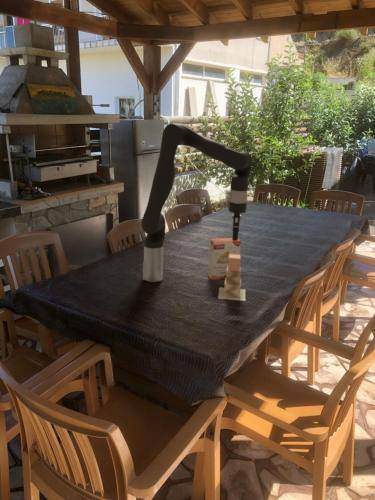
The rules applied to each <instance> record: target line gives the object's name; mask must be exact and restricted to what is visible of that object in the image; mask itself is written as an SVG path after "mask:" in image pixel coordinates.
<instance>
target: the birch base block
mask: <svg viewBox="0 0 375 500" xmlns="http://www.w3.org/2000/svg"><path fill="white" fill-rule="evenodd" d="M223 288H224V297H236V298H240V289H242V279H241V278H240V285H235V284H226V278H225V279H224V287H223Z"/></svg>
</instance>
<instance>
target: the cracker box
mask: <svg viewBox="0 0 375 500" xmlns="http://www.w3.org/2000/svg"><path fill="white" fill-rule="evenodd" d="M232 238H233V237H225V238H220V237H219V238H210V240H209V241H210V243H209V258H208V270H207V273H208V274H207V276H208V277H209V279H210V280H212V281H214V280H225V278H226V276H227V266H228V264H229V254H235V255H241V254H240V253H241V246H242V245H241V244H242V241H241V240H240V239H239V238H238V240H237V241H233V240H232Z"/></svg>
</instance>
